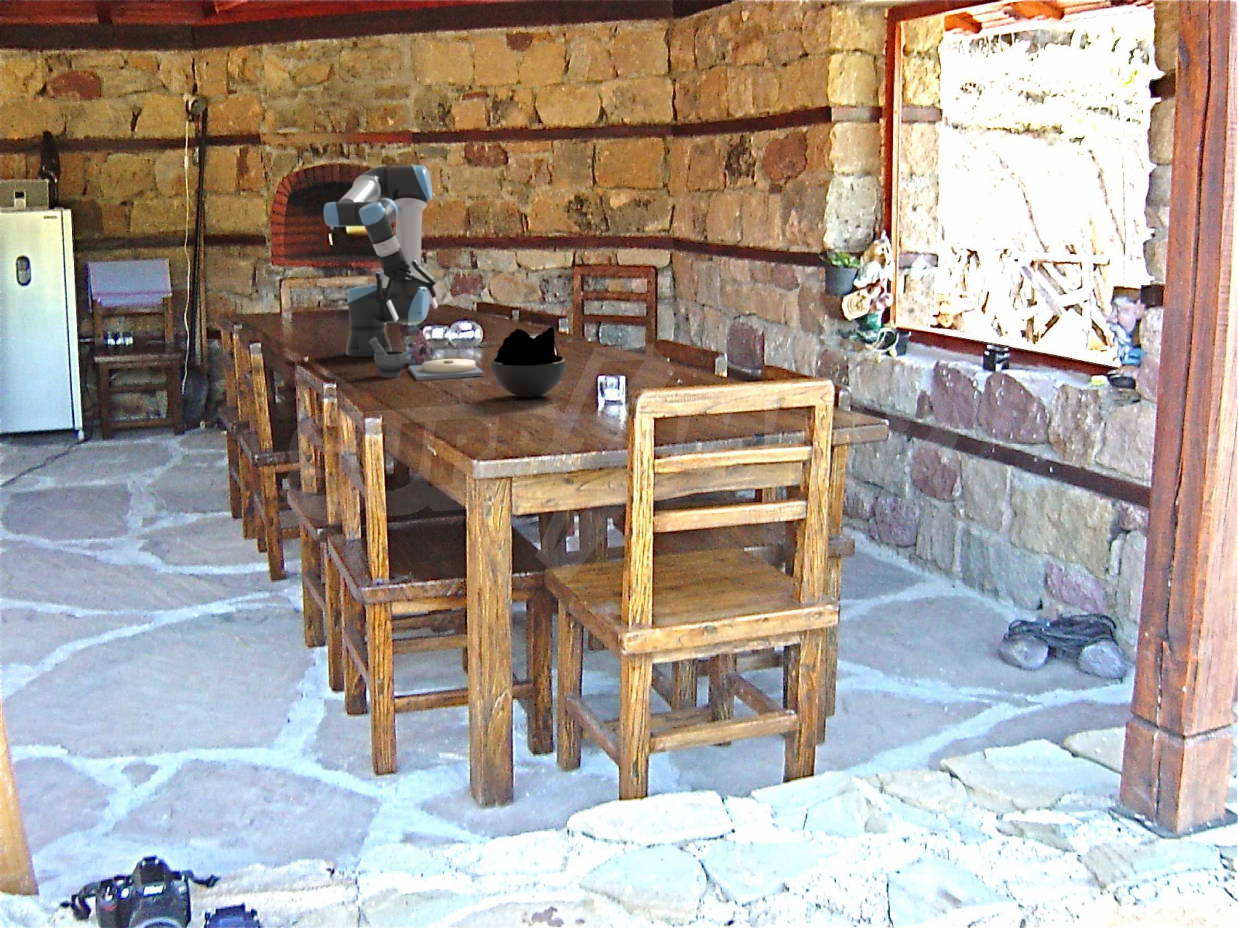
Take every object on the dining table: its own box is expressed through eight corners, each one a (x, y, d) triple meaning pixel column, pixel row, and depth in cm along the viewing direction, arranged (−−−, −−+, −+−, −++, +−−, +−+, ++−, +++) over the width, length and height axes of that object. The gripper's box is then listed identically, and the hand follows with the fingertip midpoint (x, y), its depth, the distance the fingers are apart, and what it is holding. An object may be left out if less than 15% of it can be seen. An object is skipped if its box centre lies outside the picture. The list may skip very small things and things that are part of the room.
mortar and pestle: (401, 372, 405) (399, 333, 402) (412, 376, 397) (409, 336, 394) (366, 375, 400) (363, 336, 397) (376, 379, 392) (373, 339, 389)
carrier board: (408, 369, 409) (408, 357, 409) (472, 365, 414) (472, 354, 414) (416, 380, 389) (416, 367, 388) (483, 376, 394) (483, 363, 393)
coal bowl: (485, 403, 349) (482, 332, 345) (501, 390, 368) (499, 323, 364) (559, 403, 346) (557, 332, 342) (572, 390, 366) (570, 323, 362)
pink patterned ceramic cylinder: (435, 360, 412) (412, 329, 411) (410, 380, 415) (387, 350, 415) (448, 355, 423) (425, 325, 422) (423, 375, 426) (400, 345, 425)
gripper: (349, 268, 406) (377, 329, 414) (423, 243, 401) (450, 306, 409) (355, 260, 412) (383, 320, 421) (428, 236, 407) (454, 297, 416)
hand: (416, 313), depth 415 cm, fingers open, 13 cm apart
